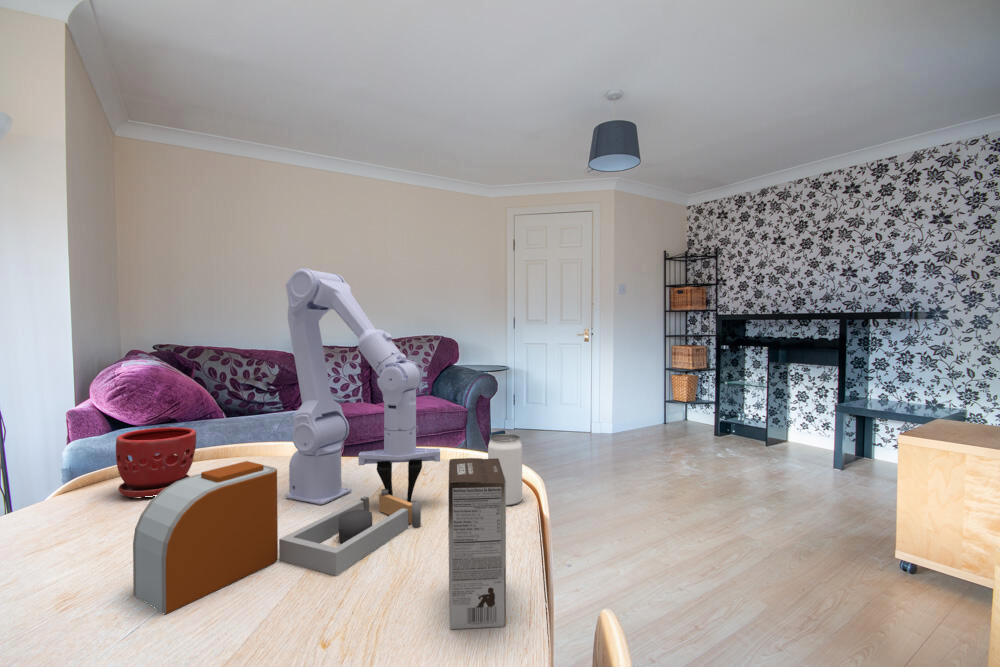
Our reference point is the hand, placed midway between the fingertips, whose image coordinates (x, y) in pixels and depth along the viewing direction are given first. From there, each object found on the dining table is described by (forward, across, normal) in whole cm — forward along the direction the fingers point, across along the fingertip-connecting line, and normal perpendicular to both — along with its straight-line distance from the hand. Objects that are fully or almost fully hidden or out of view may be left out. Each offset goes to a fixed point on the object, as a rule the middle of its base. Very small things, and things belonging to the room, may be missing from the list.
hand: (400, 501), depth 84 cm
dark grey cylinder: (+1, +6, +12) cm, 13 cm away
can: (+1, -20, 0) cm, 20 cm away
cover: (+1, 0, +6) cm, 6 cm away
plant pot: (+2, +49, -18) cm, 52 cm away
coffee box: (+1, -10, +33) cm, 34 cm away
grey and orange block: (+1, +24, +20) cm, 31 cm away
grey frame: (+1, +7, +13) cm, 15 cm away
